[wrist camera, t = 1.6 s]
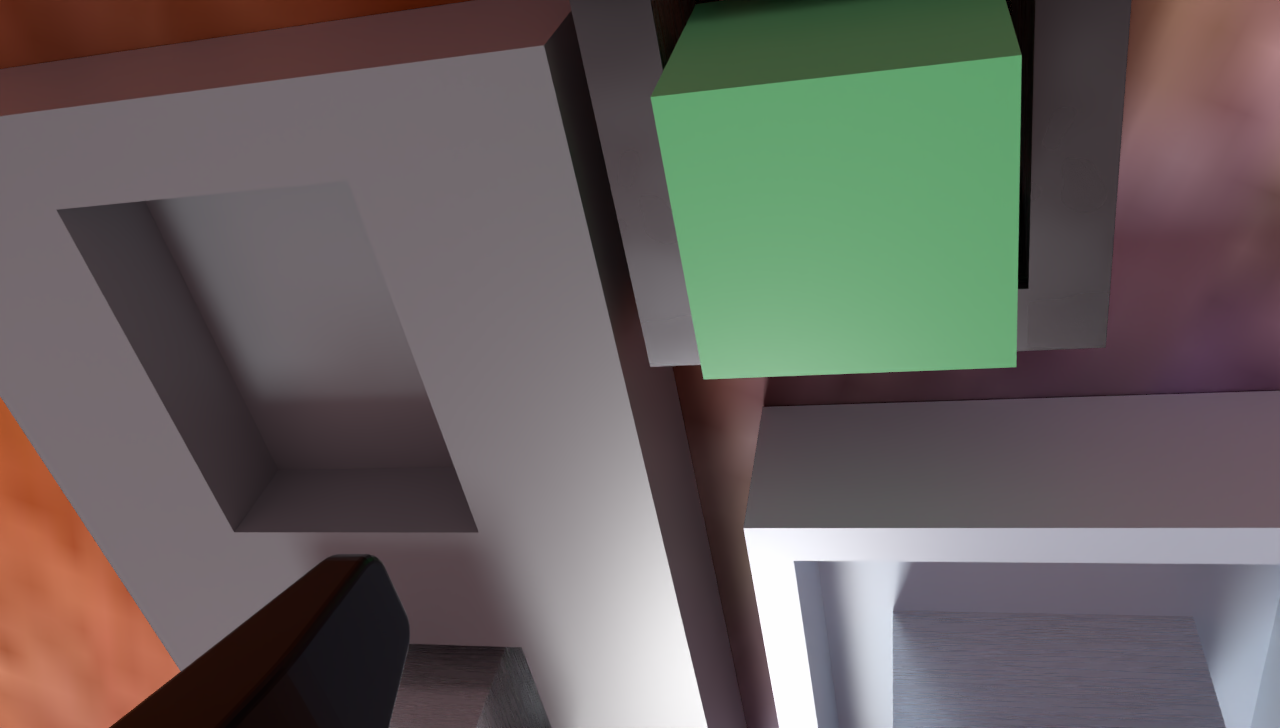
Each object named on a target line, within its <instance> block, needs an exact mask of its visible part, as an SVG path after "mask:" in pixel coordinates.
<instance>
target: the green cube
mask: <svg viewBox="0 0 1280 728" xmlns="http://www.w3.org/2000/svg"><path fill="white" fill-rule="evenodd" d="M1021 67H1022V54H1021V51H1020V47H1019V44H1018V41H1017V37H1016V34H1015V30H1014V27H1013V24H1012V20H1011V17H1010V13H1009V10H1008V7H1007V3H1006V0H723V1H715V2H708V3H701V4H696V5H695V7H694V9H693V11H692V13H691V15H690V17H689V19H688V21H687V23H686V26H685V28H684V30H683V32H682V34H681V36H680V38H679V40H678V42H677V44H676V46H675V48H674V50H673V52H672V54H671V56H670V58H669V60H668V62H667V64H666V66H665V68H664V70H663V73H662V75H661V77H660V79H659V81H658V83H657V85H656V87H655V89H654V91H653V93H652V95H651V102H652V108H653V113H654V118H655V124H656V129H657V134H658V140H659V145H660V150H661V156H662V161H663V166H664V171H665V177H666V182H667V187H668V193H669V198H670V203H671V209H672V214H673V219H674V225H675V230H676V235H677V241H678V246H679V251H680V257H681V262H682V267H683V273H684V278H685V283H686V289H687V294H688V299H689V305H690V310H691V315H692V321H693V326H694V331H695V336H696V342H697V347H698V352H699V358H700V363H701V368H702V374H703V379H726V378H752V377H778V376H804V375H829V374H855V373H881V372H907V371H932V370H958V369H984V368H1010V367H1016V360H1017V301H1018V243H1019V184H1020V126H1021Z"/></svg>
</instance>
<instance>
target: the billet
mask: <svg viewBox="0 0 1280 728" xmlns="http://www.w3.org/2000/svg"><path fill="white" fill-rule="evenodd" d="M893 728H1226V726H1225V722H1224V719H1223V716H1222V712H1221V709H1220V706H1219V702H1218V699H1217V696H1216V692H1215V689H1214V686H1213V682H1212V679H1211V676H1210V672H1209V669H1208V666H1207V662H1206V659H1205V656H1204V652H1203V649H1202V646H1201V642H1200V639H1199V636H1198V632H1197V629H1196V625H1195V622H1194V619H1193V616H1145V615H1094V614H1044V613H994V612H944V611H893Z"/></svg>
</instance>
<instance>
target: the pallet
mask: <svg viewBox="0 0 1280 728" xmlns="http://www.w3.org/2000/svg"><path fill="white" fill-rule="evenodd" d="M0 397H1V398H2V400H3V401H4V403H5V404H6V406H7V407H8V409H9V410H10V412H11V413H12V415H13V416H14V418H15V419H16V421H17V422H18V424H19V426H20V427H21V429H22V430H23V432H24V433H25V435H26V436H27V438H28V439H29V441H30V442H31V444H32V445H33V447H34V448H35V450H36V451H37V453H38V454H39V456H40V458H41V459H42V461H43V462H44V464H45V465H46V467H47V468H48V470H49V471H50V473H51V474H52V476H53V477H54V479H55V480H56V482H57V483H58V485H59V486H60V488H61V490H62V491H63V493H64V494H65V496H66V497H67V499H68V500H69V502H70V503H71V505H72V506H73V508H74V509H75V511H76V512H77V514H78V515H79V517H80V518H81V520H82V522H83V523H84V525H85V526H86V528H87V529H88V531H89V532H90V534H91V535H92V537H93V538H94V540H95V541H96V543H97V544H98V546H99V547H100V549H101V550H102V552H103V554H104V555H105V557H106V558H107V560H108V561H109V563H110V564H111V566H112V567H113V569H114V570H115V572H116V573H117V575H118V576H119V578H120V579H121V581H122V582H123V584H124V586H125V587H126V589H127V590H128V592H129V593H130V595H131V596H132V598H133V599H134V601H135V602H136V604H137V605H138V607H139V608H140V610H141V611H142V613H143V614H144V616H145V618H146V619H147V621H148V622H149V624H150V625H151V627H152V628H153V630H154V631H155V633H156V634H157V636H158V637H159V639H160V640H161V642H162V643H163V645H164V646H165V648H166V650H167V651H168V653H169V654H170V656H171V657H172V659H173V660H174V662H175V663H176V665H177V666H178V668H179V669H180V671H182V670H184V669H185V668H186V667H187V666H189V665H190V664H191V663H192V662H194V661H195V660H196V659H198V658H199V657H200V656H201V655H203V654H204V653H205V652H206V651H208V650H209V649H210V648H212V647H213V646H214V645H215V644H217V643H218V642H219V641H221V640H222V639H223V638H224V637H226V636H227V635H228V634H229V633H231V632H232V631H233V630H235V629H236V628H237V627H238V626H240V625H241V624H242V623H243V622H245V621H246V620H247V619H249V618H250V617H251V616H252V615H254V614H255V613H256V612H258V611H259V610H260V609H261V608H263V607H264V606H265V605H266V604H268V603H269V602H270V601H272V600H273V599H274V598H275V597H277V596H278V595H279V594H280V593H282V592H283V591H284V590H286V589H287V588H288V587H289V586H291V585H292V584H293V583H295V582H296V581H297V580H298V579H300V578H301V577H302V576H303V575H305V574H306V573H307V572H309V571H310V570H311V569H312V568H314V567H315V566H316V565H317V564H319V563H320V562H321V561H323V560H324V559H326V558H327V557H329V556H332V555H336V554H371V555H375V556H376V557H377V558H378V559H380V560H381V561H382V562H383V564H384V566H385V568H386V570H387V572H388V574H389V577H390V579H391V581H392V583H393V585H394V587H395V590H396V592H397V594H398V596H399V598H400V600H401V603H402V605H403V607H404V609H405V611H406V613H407V616H408V619H409V625H410V643H409V644H433V645H464V646H495V647H522V650H523V652H524V655H525V658H526V660H527V663H528V666H529V668H530V671H531V674H532V676H533V679H534V682H535V685H536V687H537V690H538V693H539V695H540V698H541V701H542V703H543V706H544V709H545V711H546V714H547V717H548V719H549V722H550V725H551V727H552V728H747V725H746V721H745V716H744V711H743V706H742V701H741V696H740V692H739V687H738V682H737V677H736V672H735V667H734V663H733V658H732V653H731V648H730V643H729V638H728V633H727V629H726V624H725V619H724V614H723V609H722V604H721V600H720V595H719V590H718V585H717V580H716V575H715V571H714V566H713V561H712V556H711V551H710V546H709V542H708V537H707V532H706V527H705V522H704V517H703V512H702V508H701V503H700V498H699V493H698V488H697V483H696V479H695V474H694V469H693V464H692V459H691V454H690V450H689V445H688V440H687V435H686V430H685V425H684V421H683V416H682V411H681V406H680V401H679V396H678V391H677V387H676V382H675V377H674V372H673V367H672V366H660V367H650V363H649V359H648V354H647V350H646V345H645V341H644V336H643V332H642V327H641V323H640V318H639V314H638V309H637V305H636V300H635V296H634V291H633V287H632V282H631V278H630V273H629V268H628V264H627V259H626V255H625V250H624V246H623V241H622V237H621V232H620V228H619V223H618V219H617V214H616V210H615V205H614V201H613V196H612V192H611V187H610V183H609V178H608V173H607V169H606V164H605V160H604V155H603V151H602V146H601V142H600V137H599V133H598V128H597V124H596V119H595V115H594V110H593V106H592V101H591V97H590V92H589V88H588V83H587V78H586V74H585V69H584V65H583V60H582V56H581V51H580V47H579V42H578V38H577V33H576V29H575V24H574V20H573V15H572V11H571V6H570V2H569V0H473V1H466V2H459V3H452V4H445V5H439V6H432V7H425V8H418V9H411V10H404V11H397V12H390V13H383V14H377V15H370V16H363V17H356V18H349V19H342V20H335V21H328V22H322V23H315V24H308V25H301V26H294V27H287V28H280V29H273V30H266V31H260V32H253V33H246V34H239V35H232V36H225V37H218V38H211V39H205V40H198V41H191V42H184V43H177V44H170V45H163V46H156V47H149V48H143V49H136V50H129V51H122V52H115V53H108V54H101V55H94V56H88V57H81V58H74V59H67V60H60V61H53V62H46V63H39V64H32V65H26V66H19V67H12V68H5V69H0Z"/></svg>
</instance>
